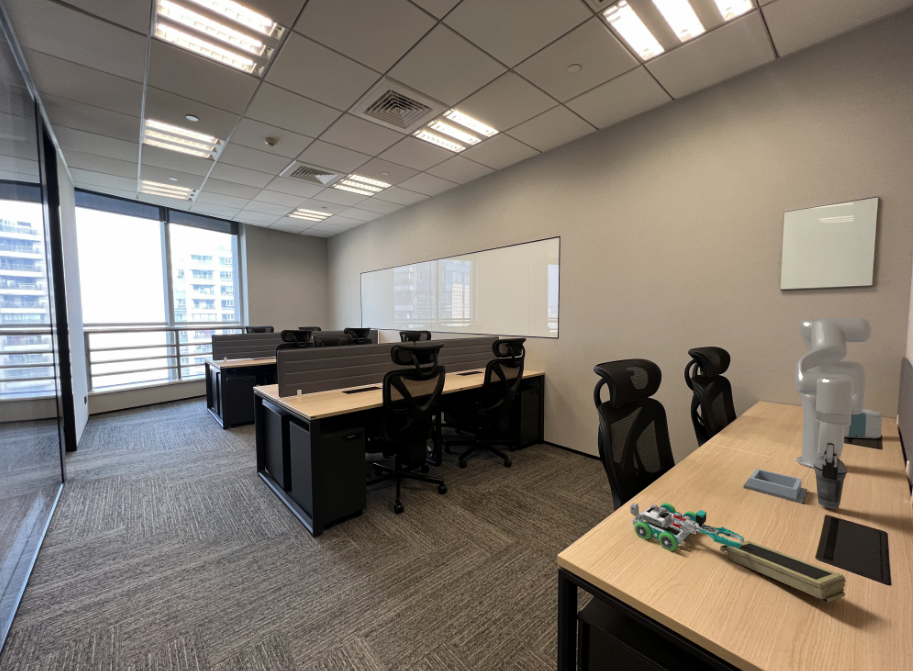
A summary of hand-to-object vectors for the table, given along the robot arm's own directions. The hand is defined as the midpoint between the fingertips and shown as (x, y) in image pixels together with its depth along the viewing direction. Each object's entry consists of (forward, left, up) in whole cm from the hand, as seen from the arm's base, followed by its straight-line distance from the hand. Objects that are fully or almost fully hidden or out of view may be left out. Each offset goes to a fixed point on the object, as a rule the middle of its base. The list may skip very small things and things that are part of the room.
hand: (830, 474), depth 113 cm
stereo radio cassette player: (-108, +1, -11) cm, 109 cm away
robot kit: (+50, -24, -11) cm, 57 cm away
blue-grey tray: (-4, -13, -11) cm, 18 cm away
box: (+51, -6, -11) cm, 53 cm away
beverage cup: (0, 0, -10) cm, 10 cm away
